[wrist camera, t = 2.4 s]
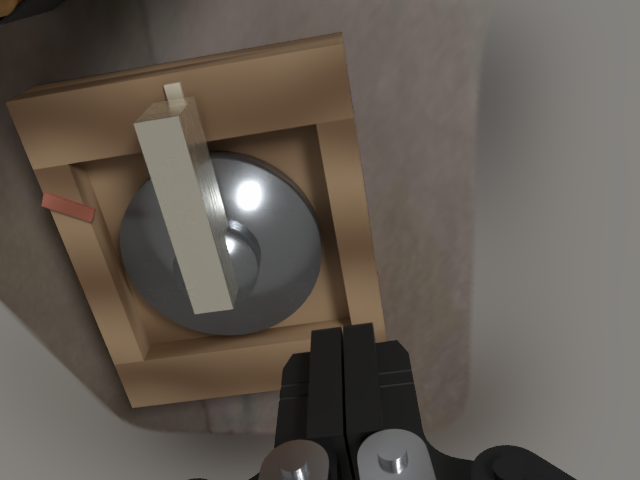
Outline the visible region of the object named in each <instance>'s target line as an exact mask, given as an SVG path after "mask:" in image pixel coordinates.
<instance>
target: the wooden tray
mask: <svg viewBox="0 0 640 480" xmlns="http://www.w3.org/2000/svg"><path fill="white" fill-rule="evenodd" d="M192 96H194V98H195V102H196V106H197V110H198V113H199V117H200V121H201V124H202V128H203V132H204V136H205V139H206V143H207V147H208V151H209V150H226V151H233V152H240V153H244V154H247V155H251V156H254V157H256V158H259V159H261V160H264V161H266V162H268V163H270V164H271V165H273V166H275V167H277V168H278V169H280V170H281V171H282V172H284V173H285V174H286V175H288V176H289V177H290V178H291V179H292V180H293V181H294V182H295V183H296V184H297V185H298V186H299V187H300V188H301V189H302V191H303V192H304V193H305V194H306V196H307V197H308V199H309V201H310V202H311V204H312V206H313V208H314V210H315V213H316V215H317V218H318V221H319V225H320V229H321V238H322V252H321V266H320V272H319V275H318V278H317V281H316V284H315V286H314V288H313V290H312V292H311V294H310V295H309V297H308V298H307V299H306V301H305V302H304V303H303V304H302V305H301V307H300V308H299V309H298V310H297V311H296V312H294V313H293V314H292V315H291V316H289V317H288V318H287V319H285V320H283V321H282V322H280V323H278V324H276V325H274V326H272V327H270V328H267V329H265V330H261V331H258V332H254V333H249V334H244V335H215V334H208V333H204V332H200V331H195V330H193V329H190V328H187V327H184V326H182V325H180V324H178V323H176V322H174V321H172V320H170V319H169V318H167V317H165V316H164V315H162V314H161V313H160V312H158V311H157V310H156V309H154V308H153V307H152V306H151V305H150V304H149V303H148V302H147V301H146V300H145V299H144V298H143V297H142V296H141V294H140V293H139V292H138V291H137V289H136V288H135V286H134V285H133V283H132V281H131V280H130V278H129V276H128V273H127V271H126V269H125V266H124V263H123V259H122V255H121V248H120V231H121V225H122V220H123V217H124V214H125V211H126V209H127V207H128V205H129V203H130V201H131V200H132V198H133V197H134V195H135V194H136V193H137V191H138V190H139V189H140V187H141V186H142V184H143V183H144V182H145V180H146V179H147V178H148V177H149V176H150V174H149V171H148V167H147V164H146V161H145V158H144V155H143V152H142V149H141V146H140V143H139V140H138V136H137V133H136V130H135V127H134V124H133V123H134V122H135V121H136V120H137V119H138V118H139V117H140V116H141V115H142V114H143V113H144V112H145V111H146V110H147V109H148V108H149V107H150V106H151V105H152V104H153V103H156V102H162V101H168V100H174V99H180V98H186V97H192ZM5 103H6V106H7V108H8V110H9V113H10V115H11V118H12V120H13V122H14V125H15V127H16V130H17V132H18V134H19V137H20V139H21V142H22V144H23V146H24V149H25V151H26V154H27V156H28V158H29V161H30V163H31V166H32V168H33V170H34V173H35V175H36V178H37V180H38V182H39V185H40V187H41V190H42V192H43V200H42V207H45V208H48V209H50V211H51V214H52V216H53V219H54V221H55V223H56V226H57V228H58V231H59V233H60V235H61V238H62V240H63V243H64V245H65V247H66V250H67V252H68V255H69V257H70V259H71V262H72V264H73V267H74V269H75V271H76V274H77V276H78V279H79V281H80V283H81V286H82V288H83V291H84V293H85V295H86V298H87V300H88V303H89V305H90V307H91V310H92V312H93V315H94V317H95V320H96V322H97V324H98V327H99V329H100V332H101V334H102V336H103V339H104V341H105V344H106V346H107V348H108V351H109V353H110V356H111V358H112V360H113V363H114V365H115V368H116V370H117V372H118V375H119V377H120V380H121V382H122V384H123V387H124V389H125V392H126V394H127V396H128V399H129V401H130V404H131V406H132V408H137V407H145V406H153V405H161V404H169V403H177V402H185V401H194V400H202V399H210V398H218V397H226V396H234V395H242V394H250V393H258V392H267V391H275V390H281V381H282V371H283V368H284V366H285V365H286V363H287V362H288V360H289V359H290V357H291V356H292V354H295V353H303V352H310V347H311V331H312V330H319V329H326V328H334V327H341V328H342V331H343V326H348V325H356V324H363V323H371V322H373V327H374V333H375V340H376V343H379V342H387V338H386V331H385V324H384V317H383V310H382V304H381V297H380V290H379V283H378V276H377V270H376V263H375V256H374V249H373V242H372V235H371V229H370V222H369V215H368V208H367V201H366V195H365V188H364V181H363V174H362V167H361V161H360V154H359V147H358V140H357V133H356V126H355V120H354V113H353V106H352V99H351V92H350V86H349V79H348V72H347V65H346V58H345V51H344V45H343V38H342V32H339V33H333V34H328V35H322V36H316V37H311V38H305V39H299V40H294V41H288V42H282V43H276V44H271V45H265V46H259V47H254V48H248V49H242V50H237V51H231V52H225V53H219V54H214V55H208V56H202V57H197V58H191V59H185V60H180V61H174V62H168V63H163V64H157V65H151V66H145V67H140V68H134V69H128V70H123V71H117V72H111V73H106V74H100V75H94V76H88V77H83V78H77V79H71V80H66V81H60V82H54V83H49V84H43V85H37V86H34V87H32V88H30V89H28V90H26V91H25V92H23V93H21V94H19V95H17V96H16V97H14V98H12V99H10V100H8V101H7V102H5Z"/></svg>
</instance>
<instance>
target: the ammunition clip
mask: <svg viewBox="0 0 640 480" xmlns="http://www.w3.org/2000/svg"><path fill="white" fill-rule="evenodd" d="M63 1H65V0H0V25H2V24H6V23H9V22H13V21H16V20H20V19H23V18H27V17H30V16H34V15H37V14H41V13H44V12H48V11H51V10H53V9H54V8H56V7H57V6H58V5H59V4H61V3H62V2H63Z"/></svg>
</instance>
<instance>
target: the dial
mask: <svg viewBox="0 0 640 480" xmlns="http://www.w3.org/2000/svg"><path fill="white" fill-rule="evenodd" d="M133 124H134V127H135V130H136V133H137V136H138V140H139V143H140V146H141V149H142V152H143V155H144V158H145V161H146V164H147V167H148V171H149V174H150V176H149V177H148V178H147V179H146V180H145V182H144V183H143V184H142V186H141V187H140V189H139V190H138V191H137V193H136V194H135V195H134V197H133V198H132V200H131V201H130V203H129V205H128V207H127V209H126V211H125V214H124V217H123V220H122V225H121V231H120V248H121V255H122V259H123V263H124V266H125V269H126V271H127V273H128V276H129V278H130V280H131V281H132V283H133V285H134V286H135V288H136V289H137V291H138V292H139V293H140V294H141V296H142V297H143V298H144V299H145V300H146V301H147V302H148V303H149V304H150V305H151V306H152V307H153V308H154V309H156V310H157V311H158V312H160V313H161V314H162V315H164V316H165V317H167V318H169V319H170V320H172V321H174V322H176V323H178V324H180V325H182V326H184V327H187V328H190V329H193V330H195V331H200V332H204V333H208V334H215V335H244V334H249V333H254V332H258V331H261V330H265V329H267V328H270V327H272V326H274V325H276V324H278V323H280V322H282V321H283V320H285V319H287V318H288V317H289V316H291V315H292V314H293V313H294V312H296V311H297V310H298V309H299V308H300V307H301V305H302V304H303V303H304V302H305V301H306V299H307V298H308V297H309V295H310V294H311V292H312V290H313V288H314V286H315V284H316V281H317V278H318V275H319V272H320V266H321V252H322V238H321V229H320V225H319V221H318V218H317V215H316V213H315V210H314V208H313V206H312V204H311V202H310V201H309V199H308V197H307V196H306V194H305V193H304V192H303V191H302V189H301V188H300V187H299V186H298V185H297V184H296V183H295V182H294V181H293V180H292V179H291V178H290V177H289V176H288V175H286V174H285V173H284V172H282V171H281V170H280V169H278V168H277V167H275V166H273V165H271V164H270V163H268V162H266V161H264V160H261V159H259V158H256V157H254V156H251V155H247V154H244V153H240V152H233V151H226V150H209V151H208V147H207V143H206V139H205V136H204V132H203V128H202V124H201V121H200V117H199V113H198V110H197V106H196V102H195V98H194V96H192V97H186V98H180V99H174V100H168V101H162V102H156V103H153V104H152V105H151V106H150V107H149V108H148V109H147V110H146V111H145V112H144V113H143V114H142V115H141V116H140V117H139V118H138V119H137V120H136V121H135V122H134V123H133Z"/></svg>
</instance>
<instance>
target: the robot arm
mask: <svg viewBox="0 0 640 480" xmlns="http://www.w3.org/2000/svg"><path fill="white" fill-rule="evenodd" d="M190 480H207V479H201V478H198V479H190ZM249 480H576V479H575V478H573V477H571V476H570V475H568V474H567V473H565V472H563V471H562V470H560V469H558V468H557V467H555V466H554V465H552V464H551V463H549V462H547V461H546V460H544V459H542V458H541V457H539V456H538V455H536V454H534V453H533V452H531V451H529V450H527V449H524V448H521V447H517V446H510V445H505V446H504V445H503V446H496V447H492V448H489V449H487V450H485V451H483V452H482V453H480V454H479V455H478V456H477V457H476V459H475V460H474V461H471V460H465V459H459V458H454V457H451V456H448V455H445V454H443V453H441V452H439V451H438V450H436V449H435V448H434V447H433V446H431V445H430V443H429V442H428V441H427V440H426V438H425V436H424V433H423V429H422V423H421V418H420V413H419V407H418V402H417V397H416V391H415V386H414V380H413V375H412V370H411V364H410V359H409V354H408V352H407V351H406V350H405V348H404V347H403V346H402V345H401V344H400V343H399V342H398V341H397V340H395V341H387V342H379V343H376V340H375V333H374V327H373V322H371V323H363V324H356V325H348V326H343V331H342V328H341V327H334V328H326V329H319V330H312V331H311V347H310V352H303V353H295V354H292V356H291V357H290V359H289V360H288V362H287V363H286V365H285V366H284V368H283V371H282V381H281V390H280V401H279V408H278V417H277V427H276V436H275V445H274V449H273V450H272V451H271V452H270V453H269V454H268V455H267V456H266V457H265V459H264V461H263V463H262V465H261V469H260V472H259V473H258V474H257V475H255V476H254V477H252V478H251V479H249Z"/></svg>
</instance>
